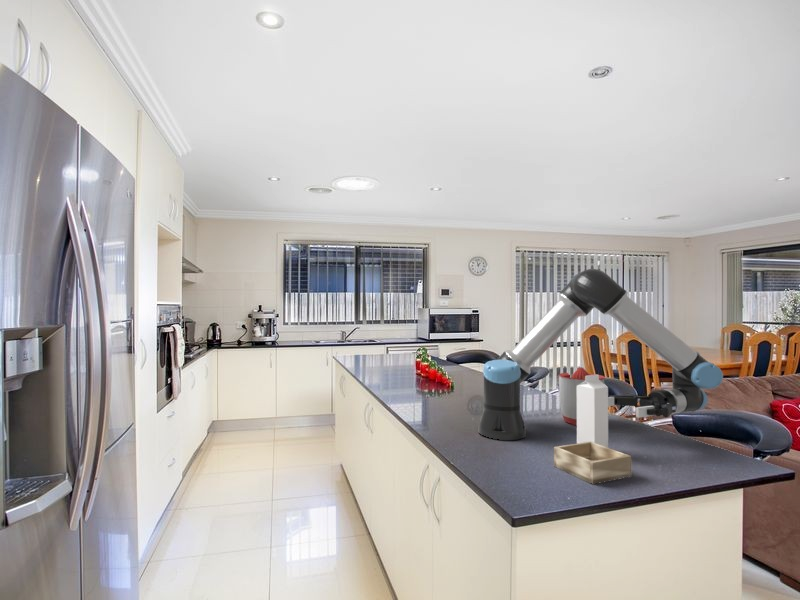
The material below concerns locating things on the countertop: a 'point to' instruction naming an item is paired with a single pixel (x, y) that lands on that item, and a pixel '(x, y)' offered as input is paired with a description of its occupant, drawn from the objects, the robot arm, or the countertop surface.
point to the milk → (592, 411)
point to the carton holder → (592, 462)
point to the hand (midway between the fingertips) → (616, 407)
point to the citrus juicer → (571, 393)
